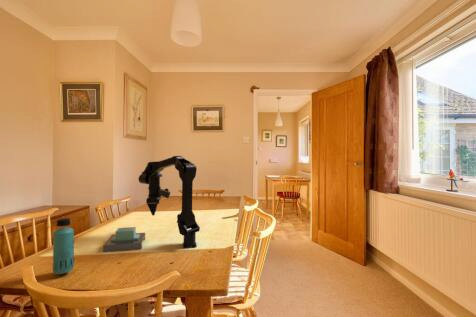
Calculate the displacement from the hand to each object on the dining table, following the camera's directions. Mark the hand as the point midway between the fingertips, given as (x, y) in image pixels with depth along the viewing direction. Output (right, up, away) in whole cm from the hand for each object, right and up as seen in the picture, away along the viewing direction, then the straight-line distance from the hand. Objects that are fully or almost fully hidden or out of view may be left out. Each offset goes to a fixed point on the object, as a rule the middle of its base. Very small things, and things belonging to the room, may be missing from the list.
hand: (154, 213), depth 136 cm
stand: (-9, -12, -15) cm, 21 cm away
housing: (-9, -9, -15) cm, 19 cm away
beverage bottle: (-18, -12, -46) cm, 50 cm away
